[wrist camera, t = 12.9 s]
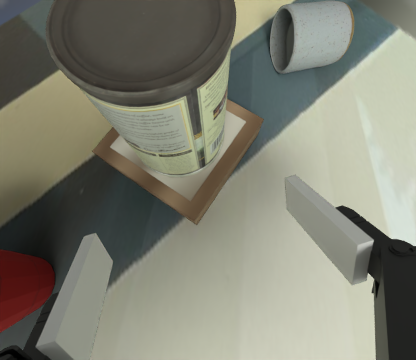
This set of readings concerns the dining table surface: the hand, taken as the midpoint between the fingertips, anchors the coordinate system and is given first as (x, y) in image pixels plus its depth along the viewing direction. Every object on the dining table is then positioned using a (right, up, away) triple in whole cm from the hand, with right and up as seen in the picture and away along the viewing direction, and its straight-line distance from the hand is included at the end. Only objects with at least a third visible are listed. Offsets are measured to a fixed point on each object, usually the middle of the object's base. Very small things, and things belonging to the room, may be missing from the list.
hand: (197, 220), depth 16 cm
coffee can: (-3, +8, +10) cm, 13 cm away
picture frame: (-3, +7, +14) cm, 16 cm away
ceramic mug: (+13, +21, +18) cm, 31 cm away
